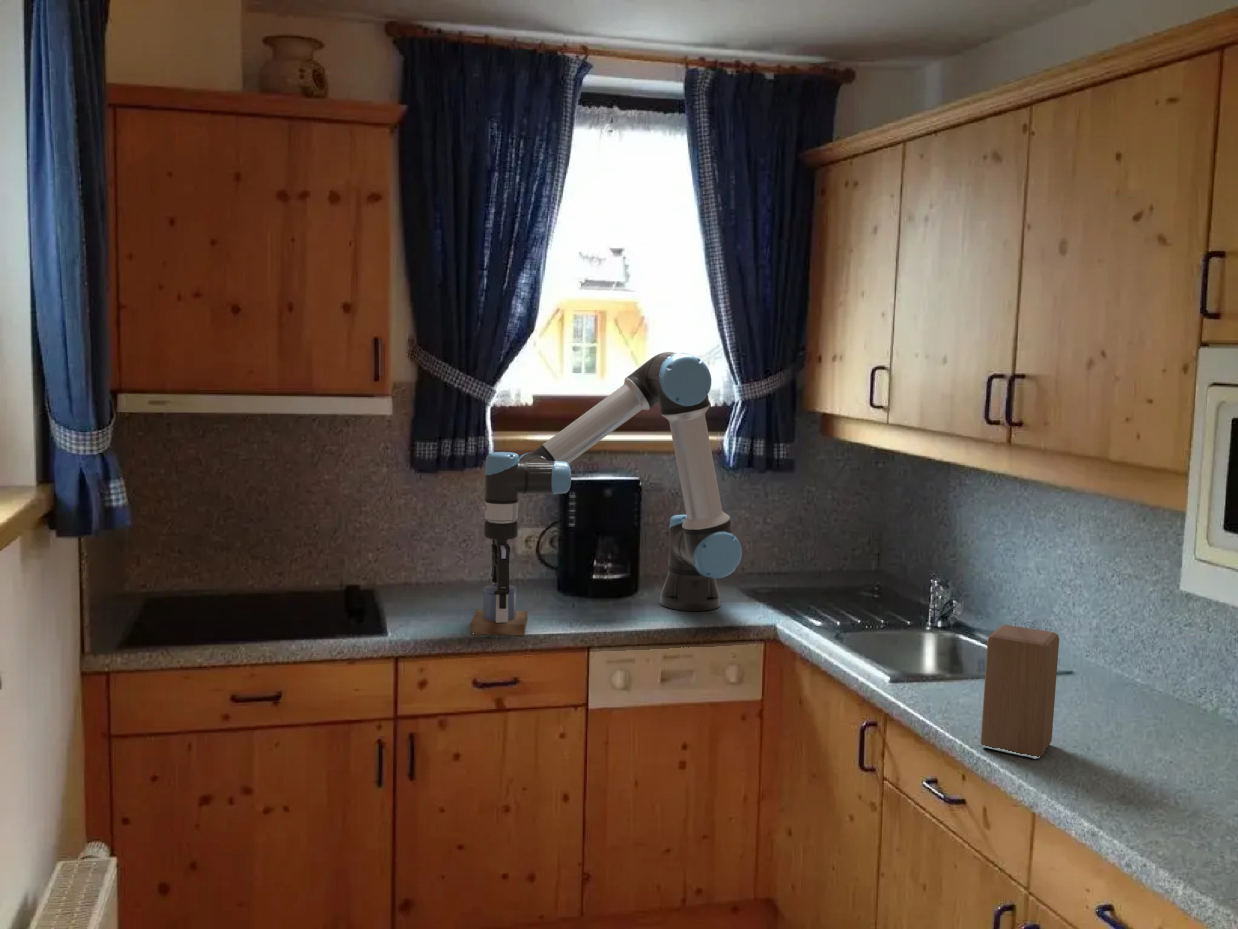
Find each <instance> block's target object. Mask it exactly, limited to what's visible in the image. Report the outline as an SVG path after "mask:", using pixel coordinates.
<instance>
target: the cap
mask: <svg viewBox="0 0 1238 929" xmlns="http://www.w3.org/2000/svg"><path fill="white" fill-rule="evenodd" d="M501 588H505V587H501ZM509 590H510V592H509V593H508V620H514V618H515V617H516V611H517V609H516V607H517V587H516V586H515V585H513V584H509ZM494 591H497V584H492V583H491V584H488V585H485V586H484V587H483V600H482V602H483V618H484V619H487V620H489V621H496V595H494Z"/></svg>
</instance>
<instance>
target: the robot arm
mask: <svg viewBox="0 0 1238 929" xmlns="http://www.w3.org/2000/svg"><path fill="white" fill-rule="evenodd" d="M623 381H624V382H623V385H621V386H620V387H618V388H617V389H616V390H614V391H613V392H611V394H609V395H607V396H606V397H605V398H603V399H602V400H601V401H599V402H598V403H596V404H595V405H594V406H592V408H589V409H588V410H587V411H585V413H583V414H582V415H580V416H579V417H578V418H576V419H575V420H574V421H572V422H571V423H570V424H568V425H567V426H566V427H564V428H563V429H562V430H560V431H559V432H558V433H556V434H555V435H553V436H552V437H551V438H549V439H548V440H546V441H545V442H544V443H543V444H541V445H540V446H539V447H537V448H536V449H534V450H533V451H531V452H527V453H524V454H522V455H520V456H519V454H518V453H515V452H511V451H510V452H509V451H508V452H507V451H495V452H490V453H488V454H487V455H486V457H485V469H484V504H485V505H483V506H482V507H481V510H483V511H484V519H485V521H484V529H483V530H484V531H483V533H484V537H485V539H486V538H487V539H488V540H492V541H491V543H492V544H491V545H490V546H491V547H490V549H491V562H492V563H491V574H490V575H491V576H490V577H491V584H497V591H494V595H496V623H497V622H508V593H509V592H510V590H509V585H510V562H511V561H510V553H511V546H510V544H508V540H514V539H516V538H517V536H518V529H519V528H518V525H519V524H518V522H517V520H518V518H519V495H554V496H555V495H558V494H561V495H562V494H567V493H568V492H569V491H570V488H571V485H572V470H571V466H570V464H571V463H572V462H573V461H575V460H576V459H577V458H578V457H580V456H582V454H584V453H585V452H587V451H589V449H590V448H592V447H593V446H595V445H596V444H597V443H599V442H600V441H601V440H602V439H604V438H605V437H607V436H609V435H610V434H611V433H613V432H614V431H615V430H616V429H618V428H619V427H620V426H622V425H623V424H625V423H626V422H627V421H629V420H630V419H632V417H634V416H635V415H636V414H638V413H639V412H641V411H644V410H645V411H649V410H650V409H652V408H653V407H654V406H656V405H658V404H659V410H660V415H661V416H662V417H663V418H665V419H666V420H667V421H668V423H669V427H670V435H671V439H672V444H673V449H674V455H675V461H676V465H677V466H676V467H677V470H678V476H679V483H680V488H681V492H682V493H681V494H682V497H683V503H684V509H685V514H676V515H675V514H674V515H673V516H671V517H670V520H669V526H668V564H667V566H668V568H667V569H668V572H667V575H666V578H665V582H664V584H663V587H662V589H661V592H660V600H659V601H660V602H659V603H660V605H661V606H663V607H665V608H668V609H672V610H677V611H689V612H698V611H699V612H701V611H703V612H704V611H710V610H714V609H718V608H719V607H720V606H721V595H720V590H719V587H718V585H717V581H716V580H717V579H722V578H725V577H728V576H730V575H731V574H732V573H733V572H735V571H736V569H737V568H738V566H739V565H740V563H741V560H742V556H743V549H742V544H741V542H740V541H739V539H738V537H737V536H735V535H734V533H733V527H732V522H731V516H730V515H729V514H727V513H726V512H725V511H723V508H722V502H721V497H720V496H721V495H720V490H719V486H718V480H717V475H716V474H717V473H716V468H715V463H714V458H713V453H712V446H711V442H710V437H709V436H710V435H709V430H708V424H707V419H706V413H707V411H709V408H710V406H711V404H710V400H709V399H710V398H709V393H710V391H711V388H712V374H711V372H710V369H709V368H708V366H707V364H706V363H705V362H704V361H703V360H701V359H700V358H699V357H697V356H695V355H693V354H691V353H688V352H687V353H686V352H672V351H664V352H661V353H657V354H656V355H655V356H652V357H651V358H649V359H648V360H647V361H645V363H643V364H642V365H640V366H639V367H638V368H637V369H635V370H634V371H633V372H632V373H630V374H629V375H627V376H626V377H625V378H624V380H623ZM501 587H505V588H501Z"/></svg>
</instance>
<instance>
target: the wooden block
mask: <svg viewBox="0 0 1238 929" xmlns="http://www.w3.org/2000/svg"><path fill="white" fill-rule="evenodd" d="M1059 647H1060V638H1059V634H1058V633H1057V632H1055V631H1048V630H1044V629H1043V630H1041V629H1036V628H1028V627H1023V626H1018V625H1017V626H1016V625H1009V624H1003V625H1000V626H999V627H998V628H996V630H995V631H993V632H992V633H991V634H989V635H988V638H987V644H986V658H985V669H984V670H985V672H984V673H985V674H984V688H983V689H984V690H983V704H982V715H981V716H982V717H981V719H982V720H981V732H980V745H981V744H982V745H985V746H989V747H992V748H1000V749H1005V750H1008V751H1012V752H1016V753H1020V754H1027V755H1031V756H1037V757H1039V756H1041V757H1042V756H1043V755H1044V753H1045V752H1046V751H1047V749H1048V747H1049V746H1050V744H1051V743H1052V740H1053V729H1054V728H1053V727H1054V726H1053V725H1054V714H1055V713H1054V712H1055V703H1056V702H1055V700H1056V687H1057V676H1058V675H1057V673H1058V660H1059ZM982 745H981V746H982ZM1048 745H1049V746H1048ZM1046 748H1047V749H1046ZM1044 751H1045V752H1044ZM1042 754H1043V755H1042Z"/></svg>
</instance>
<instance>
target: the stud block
mask: <svg viewBox="0 0 1238 929" xmlns="http://www.w3.org/2000/svg"><path fill="white" fill-rule="evenodd" d="M528 613H529V612H528V611H527V610H516V617H515V618H514V620H508V622H497V623H496V621H489V620H487V619H484V618H483V610H482V609H476V610H475V613H474V615H473V618H472V620H471V622H470V634H471V633H474V634H473V635H482V634H493V635H494V636H525V633H526V630H527V625H528ZM493 635H492V636H493Z"/></svg>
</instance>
